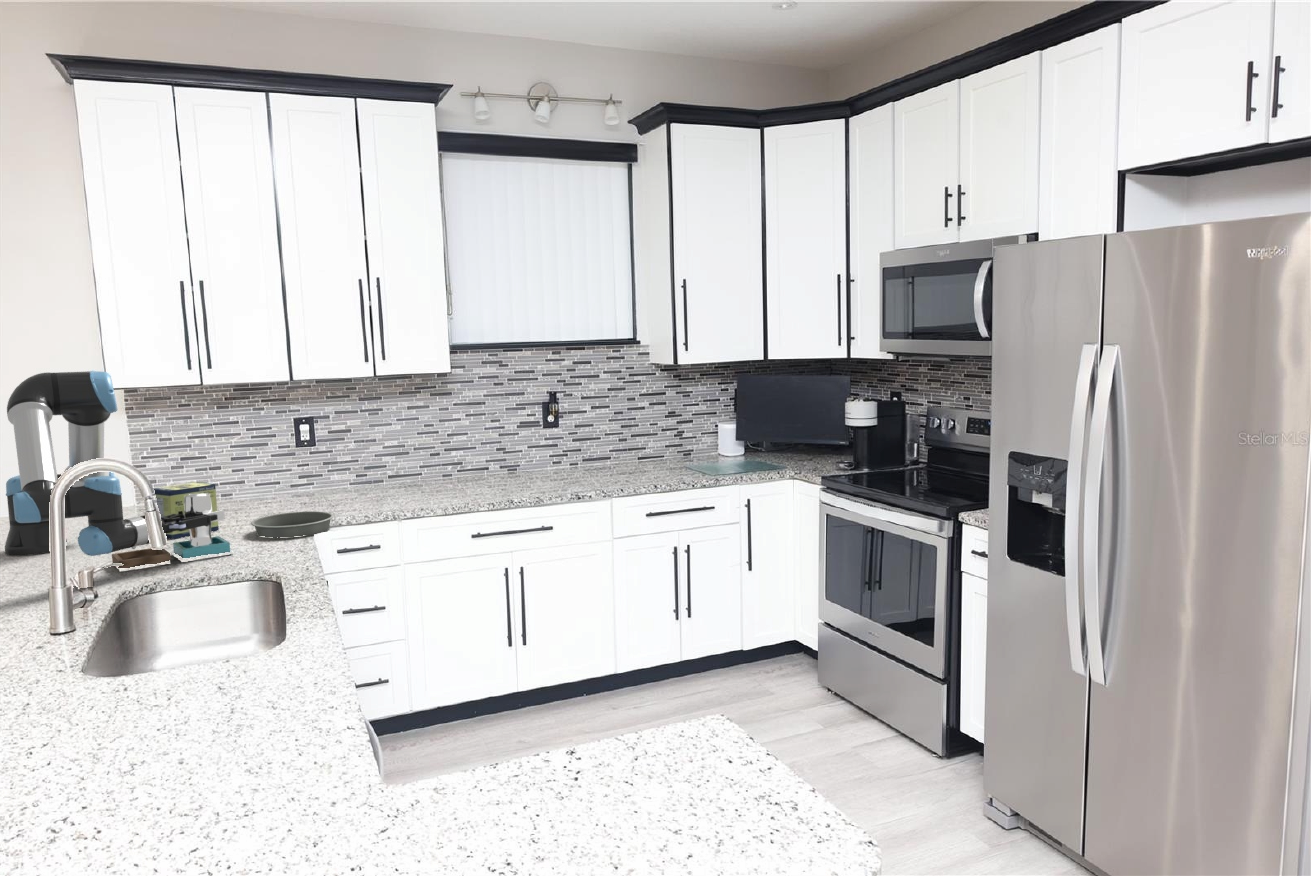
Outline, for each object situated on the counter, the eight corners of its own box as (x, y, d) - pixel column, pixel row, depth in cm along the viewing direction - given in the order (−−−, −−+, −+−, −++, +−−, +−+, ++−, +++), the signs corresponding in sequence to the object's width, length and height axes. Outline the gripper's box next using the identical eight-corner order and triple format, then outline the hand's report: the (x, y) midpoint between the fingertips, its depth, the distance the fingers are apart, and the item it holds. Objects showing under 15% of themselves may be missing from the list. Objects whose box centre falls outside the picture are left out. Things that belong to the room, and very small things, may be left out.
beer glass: (203, 543, 247) (198, 492, 245) (220, 544, 244) (216, 493, 243) (181, 548, 240) (177, 496, 239) (200, 550, 238) (195, 497, 236)
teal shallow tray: (181, 562, 234) (180, 550, 233) (171, 555, 243) (170, 542, 243) (232, 554, 242) (232, 542, 242) (221, 547, 252) (220, 535, 251)
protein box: (220, 530, 278) (216, 483, 276) (172, 539, 265) (168, 490, 263) (201, 527, 283) (197, 481, 282) (153, 536, 270) (149, 488, 268)
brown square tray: (120, 572, 225) (119, 561, 224) (112, 564, 234) (111, 553, 233) (171, 564, 232) (170, 553, 232) (162, 556, 241) (161, 546, 241)
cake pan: (234, 540, 263) (233, 525, 262) (279, 524, 287) (279, 511, 287) (309, 540, 260) (308, 526, 259) (348, 524, 284) (347, 511, 283)
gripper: (116, 542, 228) (189, 525, 250) (171, 546, 222) (241, 528, 243) (114, 514, 228) (187, 500, 249) (168, 517, 221) (239, 502, 243)
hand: (213, 514), depth 246 cm, fingers closed on beer glass, 6 cm apart
